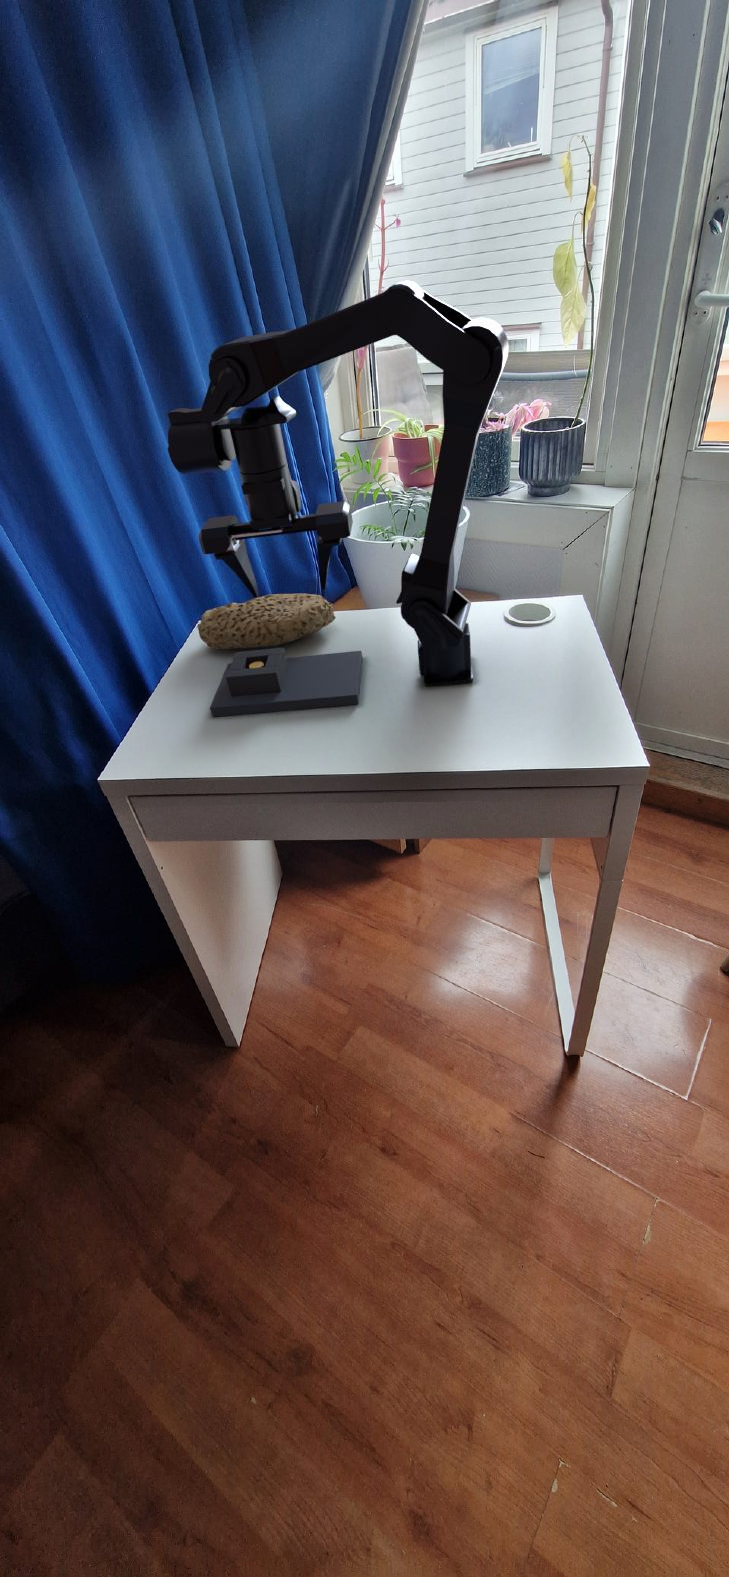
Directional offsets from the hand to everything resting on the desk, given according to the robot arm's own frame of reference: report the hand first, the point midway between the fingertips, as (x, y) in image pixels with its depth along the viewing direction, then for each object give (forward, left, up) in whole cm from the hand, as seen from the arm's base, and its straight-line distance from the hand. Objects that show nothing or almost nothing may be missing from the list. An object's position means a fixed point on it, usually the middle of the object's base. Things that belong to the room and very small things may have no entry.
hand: (290, 593), depth 87 cm
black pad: (+6, +4, -10) cm, 13 cm away
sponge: (+7, -12, -12) cm, 18 cm away
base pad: (+2, +4, -12) cm, 13 cm away
